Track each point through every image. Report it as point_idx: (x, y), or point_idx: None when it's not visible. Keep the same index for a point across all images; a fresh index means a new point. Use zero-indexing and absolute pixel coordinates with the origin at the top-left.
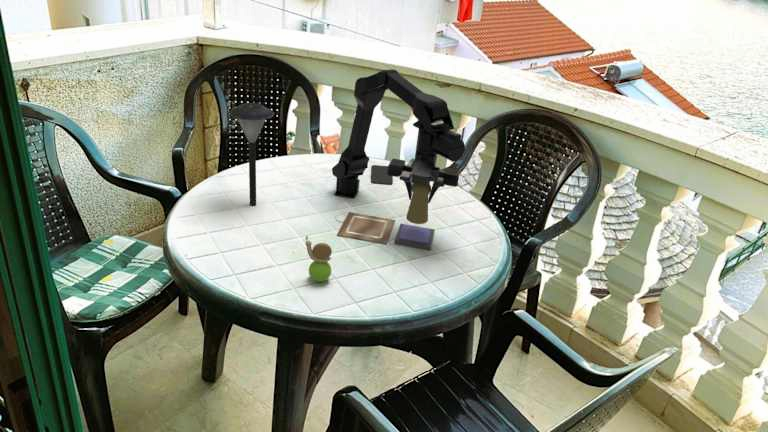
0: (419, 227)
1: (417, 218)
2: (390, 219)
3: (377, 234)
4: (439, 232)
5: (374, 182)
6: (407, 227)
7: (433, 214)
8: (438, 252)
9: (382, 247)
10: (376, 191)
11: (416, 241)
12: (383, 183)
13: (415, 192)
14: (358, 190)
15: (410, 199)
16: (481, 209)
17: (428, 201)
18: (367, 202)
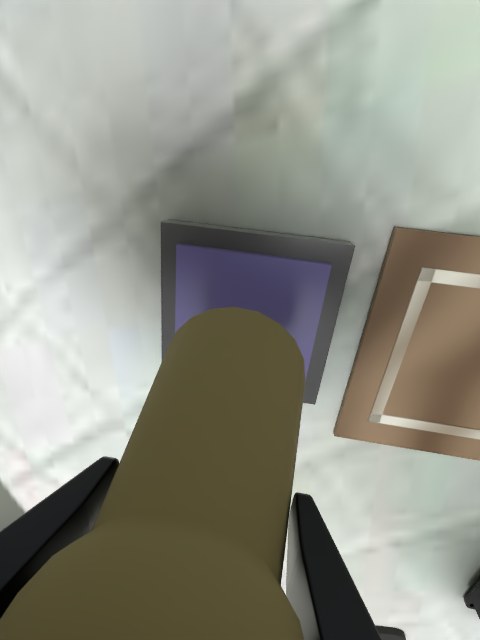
0: None
1: (226, 328)
2: (355, 437)
3: (436, 306)
4: (148, 377)
5: (394, 634)
6: None
7: None
8: (128, 210)
9: (420, 190)
10: (390, 593)
11: (235, 252)
12: None
13: (244, 607)
14: (476, 599)
15: (300, 496)
16: None
17: (102, 470)
18: (437, 537)
